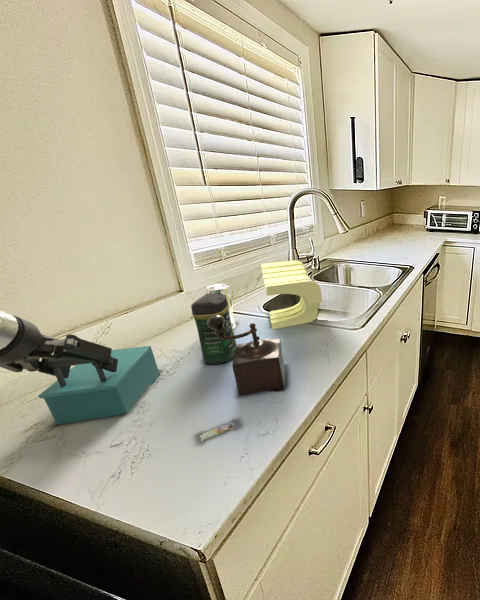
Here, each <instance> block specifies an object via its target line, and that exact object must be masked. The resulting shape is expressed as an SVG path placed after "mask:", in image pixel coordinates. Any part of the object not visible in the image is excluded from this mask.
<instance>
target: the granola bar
mask: <svg viewBox="0 0 480 600" xmlns="http://www.w3.org/2000/svg"><path fill="white" fill-rule="evenodd" d="M232 429H235V426H234V423H233V422H229V423H227V424H224V425H221V426H218V427H216V428H213V429H211V430H209V431H206V432H204V433H202V434H200V435H199V437H200V439H201V442H203V441H205V440H208V439H211V438H213V437H215V436H218V435H220V434H223V433H226V432H228V431H230V430H232Z"/></svg>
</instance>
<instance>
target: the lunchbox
mask: <svg viewBox="0 0 480 600" xmlns="http://www.w3.org/2000/svg"><path fill="white" fill-rule="evenodd" d="M159 377H160V371H159V367H158V364H157V361H156V358H155V355H154V351H153V349H152V348H151V349H150V350H149V351H148V352H147V353H146V355H145V356H144V357H143V358H142V359H141V360H140V361H139V362H138V363H137V364H136V365H135V366H134V367H133V368H132V370H131V371H130V372H129V373H128V374H127V375H126V376H125V377H124V378H123V379H122V380H121V381H120V382H119V383H118V385H117V386H116V387H115V388H113V389H106V390H99V391H91V392H84V393H77V394H69V395H62V396H55V397H48V398H43V400H44V401H45V404H46V405H47V408H48V410H49V412H50V414H51V416H52V418H53V420H54V422H55V424H56V425H62V424H69V423H75V422H81V421H87V420H94V419H95V420H96V419H101V418H107V417H108V418H109V417H113V416H115V417H116V416H121V415H127V414H128V413H129V412H130V410H131V409H132V407H133V406H134V405H135V404H136V402H137V401H138V400H139V399H140V397H141V396H142V395H143V393H145V391H146V390H147V389H148V387H149V386H150V385H151V386H152V385H153V384H154V383H155V382H156V381H157V379H158V378H159Z"/></svg>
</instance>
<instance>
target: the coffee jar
mask: <svg viewBox="0 0 480 600" xmlns="http://www.w3.org/2000/svg"><path fill="white" fill-rule="evenodd" d="M190 305H191V306H190V308H191V313H192V317H193V320H194V322H195V326H196V330H197V334H198V339H199V344H200V350H201V355H202V359H203V362H204V363H206V364H211V365H219V364H222V363H225V362H229V361H231V360H233V358H234V355H235V352H236V350H237V346H238V344H237V342H236V339H234V340H228V341H225V340H222V339H221V337H220V335H215V330H214V329H212V328H210V327H208V325H207V320H208V319H209V318H210V317H212V316H214V315H221V316H223V317H224V319H225V322H224V327H225V328H226V329H227V331H226V333H225V334H224V335H225V336H226V337H231V336H235V334H234V333H235V332H234V329H232V325H231V320H230V315H229V307H228V302H227V298H226V296H225V295H223V294H222V293H207V292H206V293H205V294H204V295H202V296H201V297H199V298H197V300H195V301H194V302H193V303H192V304H190Z"/></svg>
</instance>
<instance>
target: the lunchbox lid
mask: <svg viewBox="0 0 480 600" xmlns="http://www.w3.org/2000/svg"><path fill="white" fill-rule="evenodd" d="M150 349H152V346H151V345H144V346H136V347H135V346H134V347H127V348H126V347H125V348H117V349H112V352H111V357H113V358H115V359H118V364H117V371H116V372H110V371H107V370H104V369H102V368H99V367H94V366H93V365H92V363H90V362H83V361H76V360H70V359H63V358H60V359H56V360H51V359H49V360H48V361H47V366H48V367H49V368H52V369H53V371H54V373H55V376H54V377H56V379H57V380H56V381H55V382H53V383H52V384H50V386H48V387H47V388H46V389H45V390H43V391H41V393H39V394H38V398H39V399H44V398H48V397H55V396H62V395H69V394H77V393H84V392H91V391H99V390H106V389H113V388H115V387H116V386H117V385H118V383H119V382H120V381H121V380H122V379H123V378H124V377H125V376H126V375H127V374H128V373H129V372H130V371H131V370H132V368H133V367H134V366H135V365H136V364H137V363H138V362H139V361H140V360H141V359H142V358H143V357H144V356H145V355H146V353H147V352H148V351H149V350H150ZM63 366H71V367H72V366H73V367H72V368H70V372H69V377H68V378H64V377H63V375H62V373H61V370H60V368H59V367H63Z"/></svg>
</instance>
